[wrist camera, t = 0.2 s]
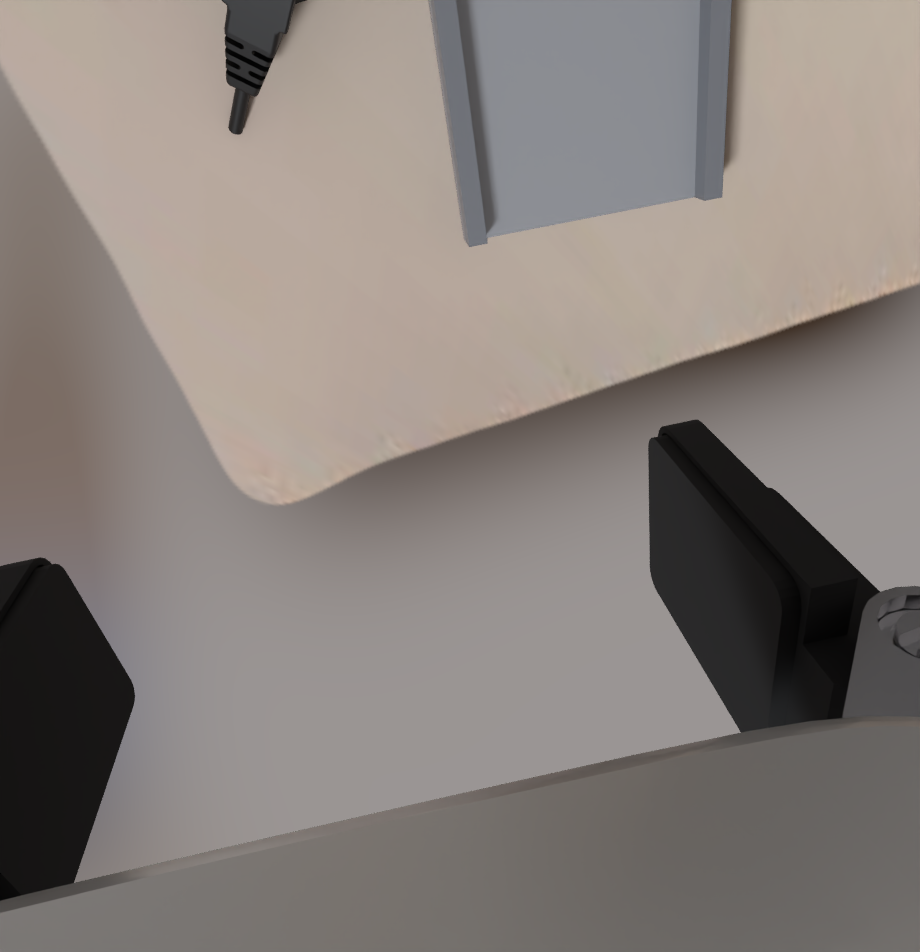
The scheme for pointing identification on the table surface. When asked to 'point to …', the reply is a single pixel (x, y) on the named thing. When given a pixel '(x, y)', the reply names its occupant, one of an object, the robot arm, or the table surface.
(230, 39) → the power plug
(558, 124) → the dock
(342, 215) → the table surface
